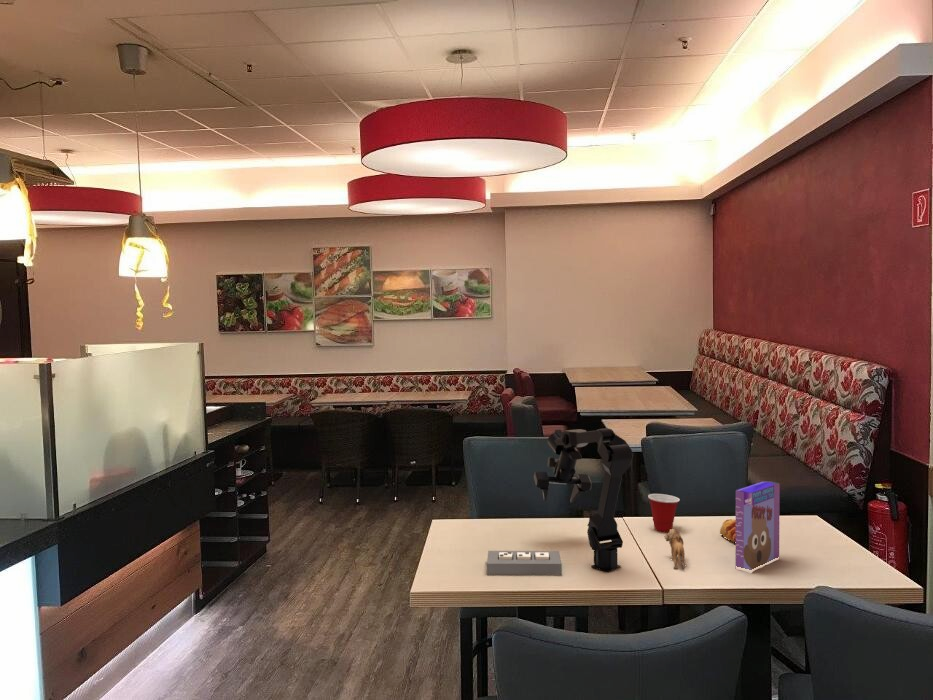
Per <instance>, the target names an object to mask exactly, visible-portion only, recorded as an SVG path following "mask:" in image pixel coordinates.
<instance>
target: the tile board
mask: <svg viewBox="0 0 933 700" xmlns="http://www.w3.org/2000/svg"><path fill="white" fill-rule="evenodd" d="M499 552H512V560H499ZM517 552H530V555H531V560H517ZM535 552H548V553H549V560H535ZM561 558H562V557H561V553H560V550H488V551H487V558H486V559H487V560H486V575H487V576H489V575H490V576H562V575H563V573H562V572H563V571H562V570H563V568H562V567H563V566H562V559H561Z"/></svg>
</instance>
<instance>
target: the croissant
mask: <svg viewBox="0 0 933 700" xmlns="http://www.w3.org/2000/svg"><path fill="white" fill-rule="evenodd" d="M719 534H722V535H723V538H724V537H726V538H727V539H729V540H728V541H730V540H731V541H730V542H732V541H733V542H736V519H726V520H724V521H723V523H722V525H721V527H720V530H719ZM722 535H721V536H722ZM727 539H726V540H727ZM733 542H732V543H733Z"/></svg>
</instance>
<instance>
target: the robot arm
mask: <svg viewBox="0 0 933 700" xmlns="http://www.w3.org/2000/svg"><path fill="white" fill-rule="evenodd" d="M608 442H609V443H610V444H611V445H606V446H605V444H604V443H608ZM591 443H596V444H597V453H598V454H599V456H600V457H601V464H602V466H603V469H604V470H605V472H604V477H603V480H602V481H603V482H602V488H601V492H600V496H599V503H598V508H597V512H596V513H592V514H590V515H589V517H588V518H589V519H588V523H587V537H588V543H589V544H588V545H589V547H590V548H591V550H593V564H592V565H591V568H593V569H596V570H599V571H601V572H602V571H603V572H606V573H609V572H612V571H615V570H617V569H620V568H621V565H620V564H618V548H619V549H621V548H623V544H624V540H623V538H622V537H621V534H620V532H619V530H618V523H617V521H616V519H615V512H616V507H617V502H618V498H619V493H620V489H621V482H622V477H623V475H624V474H625V473H626V472H627V470H629V468H630V467H631V464H632V461H633V456H634V453H633V450H632V448H631V447H630V445H629V444H628V443H627V441H626V440H625V439H623V438H622V437H620V436H619V435H617V434H616V433H615V432H614V430H613V429H612V428H608V427H607V428H599V429H596V430H589V431H588V430H586V429H581V428H580V429H578V428H577V429H568V430H562V429H555V430H554V432H553V433H551V434H550V435H549V436H548V438H547V444H548V445H549V447H550V448H551V449H552V451H553V452H554V453H555V454H556V455H557V456H559V458H555V457H553V456H549V457H548V458H547V461H546V462H547V464H546V465H547V467H548V468H551V469H552V471H553V472H552V473H553V475H555V476H549V475H548V472H547V471H535V472H534V475H533V480H534V483H535V487H536V488H537V489H539V490H541V491H542V497H543V501H544V502H546V500H547V498H548V494H549V489H550V488H549V486H550V484H555V485H556V484H559V485H573V489H572V492H571V495H570V500H569V501H570V503H571V504H572V503H573V502H574V501H575V500H576V499H578V498H579V497H580V496H581V495H582V494H583V493H587V492H589V491H590V492H591V490H592V487H593V482H592V481H591V478H590V476H589V475H588V474H586V473H577V474H576V465H577V462H578V460H582V459H583V458H582V455H581V454H580V451H579V450H578V449H577V448H583V447H586V446H587V445H588V444H591ZM574 475H576V477H574Z"/></svg>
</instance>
